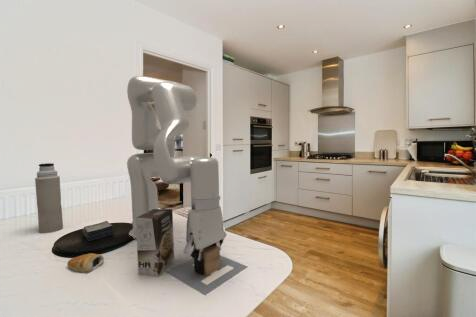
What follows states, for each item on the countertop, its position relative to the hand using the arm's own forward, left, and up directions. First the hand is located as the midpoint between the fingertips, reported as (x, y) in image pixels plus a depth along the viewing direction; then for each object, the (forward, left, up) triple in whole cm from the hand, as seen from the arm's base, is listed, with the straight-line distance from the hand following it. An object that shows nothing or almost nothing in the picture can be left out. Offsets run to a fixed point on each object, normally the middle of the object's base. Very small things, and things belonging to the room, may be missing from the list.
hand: (207, 267), depth 66 cm
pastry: (-30, -20, -1) cm, 36 cm away
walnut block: (0, 0, 0) cm, 0 cm away
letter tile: (0, 0, -1) cm, 1 cm away
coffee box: (-12, -8, -1) cm, 14 cm away
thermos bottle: (-76, -19, -1) cm, 78 cm away
